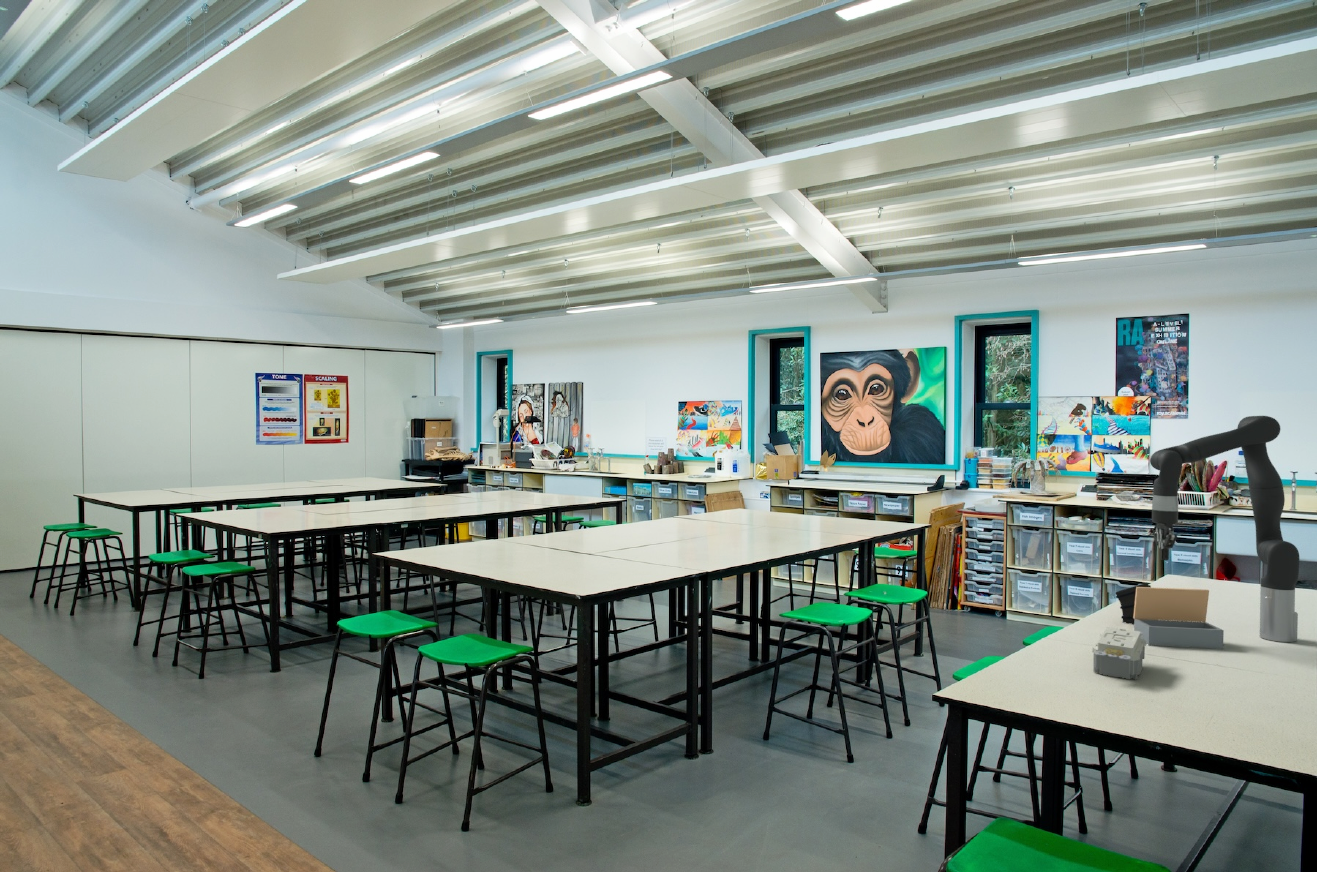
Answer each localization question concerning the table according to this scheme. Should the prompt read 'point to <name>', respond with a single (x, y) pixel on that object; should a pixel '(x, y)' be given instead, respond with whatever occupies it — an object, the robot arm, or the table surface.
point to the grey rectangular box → (1180, 633)
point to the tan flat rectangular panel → (1171, 604)
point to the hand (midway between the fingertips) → (1164, 559)
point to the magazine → (1128, 602)
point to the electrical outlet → (1119, 653)
